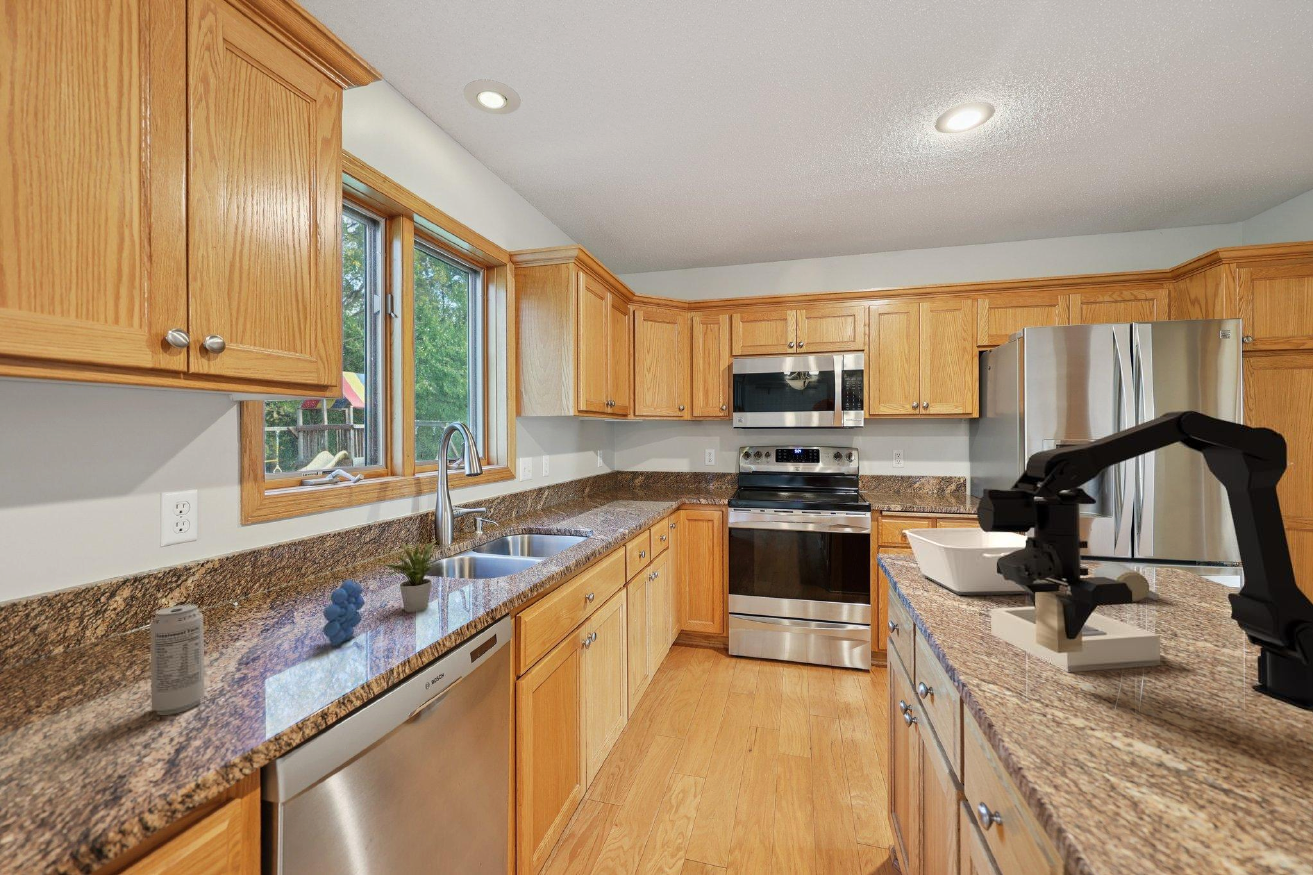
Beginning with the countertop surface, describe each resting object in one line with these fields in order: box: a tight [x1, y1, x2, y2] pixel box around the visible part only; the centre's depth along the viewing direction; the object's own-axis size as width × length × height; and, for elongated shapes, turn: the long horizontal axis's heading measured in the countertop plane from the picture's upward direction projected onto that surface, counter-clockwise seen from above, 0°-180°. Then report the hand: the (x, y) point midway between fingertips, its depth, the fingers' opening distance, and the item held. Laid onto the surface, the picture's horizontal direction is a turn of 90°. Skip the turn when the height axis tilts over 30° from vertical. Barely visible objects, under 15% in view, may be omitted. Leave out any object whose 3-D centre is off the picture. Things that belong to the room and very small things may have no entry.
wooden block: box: [1035, 590, 1082, 653], centre depth 82 cm, size 4×4×8 cm
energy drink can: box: [149, 603, 205, 716], centre depth 82 cm, size 6×6×15 cm
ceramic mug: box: [1093, 561, 1160, 603], centre depth 125 cm, size 11×8×8 cm
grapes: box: [322, 579, 366, 646], centre depth 108 cm, size 12×7×12 cm, turn 179°
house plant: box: [379, 540, 443, 613], centre depth 129 cm, size 14×14×16 cm
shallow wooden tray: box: [990, 605, 1161, 673], centre depth 96 cm, size 17×17×5 cm
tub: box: [904, 527, 1029, 596], centre depth 137 cm, size 34×27×13 cm
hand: (1058, 633), depth 82 cm, fingers closed on wooden block, 4 cm apart
